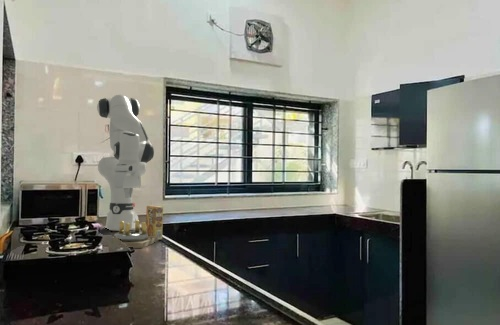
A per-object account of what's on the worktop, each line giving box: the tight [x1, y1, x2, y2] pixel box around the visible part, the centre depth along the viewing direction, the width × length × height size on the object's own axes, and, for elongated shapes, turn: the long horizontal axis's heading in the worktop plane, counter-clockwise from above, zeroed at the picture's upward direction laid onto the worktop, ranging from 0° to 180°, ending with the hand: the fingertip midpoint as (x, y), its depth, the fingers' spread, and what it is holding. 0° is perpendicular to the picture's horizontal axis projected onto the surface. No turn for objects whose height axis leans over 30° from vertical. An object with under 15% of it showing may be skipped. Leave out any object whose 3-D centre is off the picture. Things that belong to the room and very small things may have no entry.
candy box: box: [145, 205, 164, 241], centre depth 183 cm, size 9×4×15 cm, turn 44°
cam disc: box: [113, 219, 148, 241], centre depth 168 cm, size 14×14×7 cm
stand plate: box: [122, 236, 159, 249], centre depth 169 cm, size 18×17×2 cm
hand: (128, 198), depth 175 cm, fingers closed
